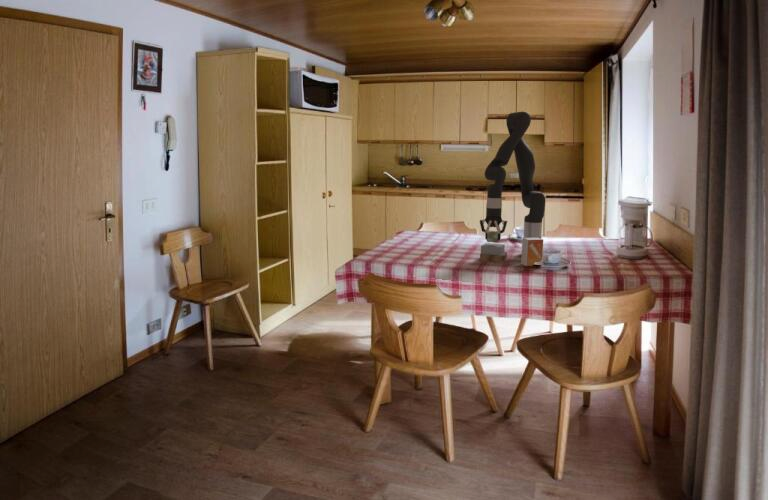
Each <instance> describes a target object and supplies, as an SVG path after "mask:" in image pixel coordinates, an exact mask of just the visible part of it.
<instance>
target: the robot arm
mask: <svg viewBox="0 0 768 500" xmlns="http://www.w3.org/2000/svg"><path fill="white" fill-rule="evenodd" d="M531 122H532V120H531V115H530V113H529V112H528V111H515V112H510V113H509V114H508V115H507V116H506V127H507V131H508V134H509V136H508V137H507V138H506V139H505V140H504V141H503V142H502V144H501V145H500V146H499V148H498V151H497V152H496V154H495V156H494V158H493V159H492V160H491V161H490V162H489V164H488V165H487V167H486V168H485V170H484V177H485V179H486V180H487V181H491V182H493V181H494V183H493V185H489V186H488V187H487V193H486V195H487V197H486V198H487V199H486V205H485V207H486V209H485V218H483V219H480V220H479V224H480V229H481V232H482V233H485V234H484V235H485V236H484V238H485V239H484V240H486V241H487V232H488V231H490V229H491V228H496V229H495V230H496V231H497V232H498V242H500V240H501V235H502V234H503V233H505V231H506V227H507V224H508V221H507V220H503V218H502V208H503V207H502V206H503V205H502V204H503V201H502V197H503V196H502V195H503V187H504V184H505V181H506V178H507V171H506V169H505V167H506V166H507V165H508V163H509V162H510V160H511V157H512V155H513V153H514V158H515V164H516V167H517V169H516V170H517V173H518V179H519V183H520V192H521V201H522V204H523V205H524V207H525V208H527V209H529V212H528V214H527V215H525V216H524V219H523V224H524V225H523V237H522V239H523V238H540V239H543V238H542V231H543V229H542V227H543V218H544V217H545V211H546V210H545V209H546V197H545V194H544V193H543V192H540V191H536V190H535V188H534V183H533V179H534V174H535V171H536V161H535V157H534V156H535V155H534V153H533V151H532V149H531V148H530V146H529V145H528V144H527V143H526V142H525V140H524V138H523V136H524V135H525V133H526V132H527V131H528V129H529V127H530V125H531ZM485 223H486V224H487V226H486V228H485V225H484V224H485ZM501 223H502V225H503V226H502V229H501V227H500V224H501Z"/></svg>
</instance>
